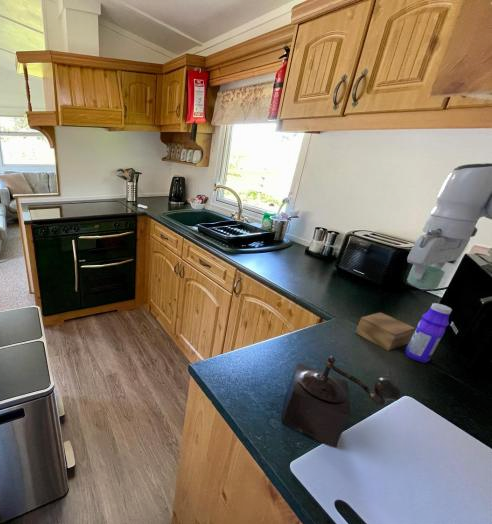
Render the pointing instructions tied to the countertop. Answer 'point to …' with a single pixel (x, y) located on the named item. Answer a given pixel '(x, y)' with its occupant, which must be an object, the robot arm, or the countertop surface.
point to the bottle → (428, 333)
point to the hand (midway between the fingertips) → (424, 276)
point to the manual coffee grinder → (326, 401)
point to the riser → (384, 330)
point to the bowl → (427, 278)
